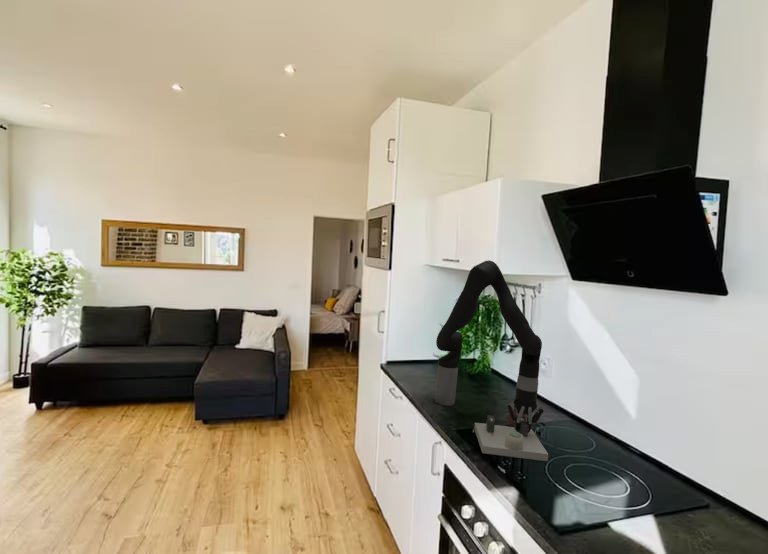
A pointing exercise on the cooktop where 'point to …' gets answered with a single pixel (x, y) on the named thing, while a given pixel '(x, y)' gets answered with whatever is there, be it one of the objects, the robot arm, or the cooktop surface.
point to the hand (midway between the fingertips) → (522, 431)
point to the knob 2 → (523, 427)
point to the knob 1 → (490, 423)
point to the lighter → (515, 416)
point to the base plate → (500, 440)
